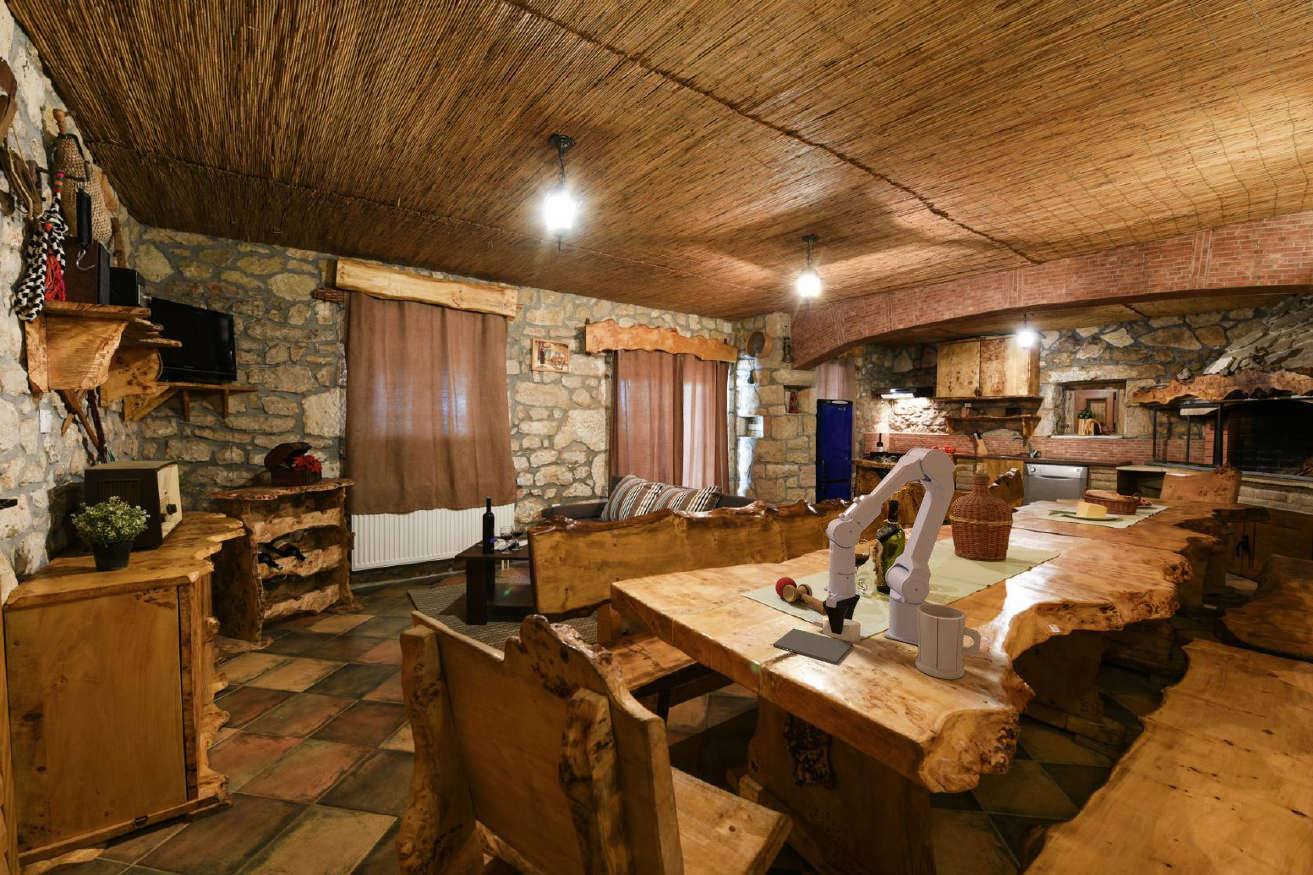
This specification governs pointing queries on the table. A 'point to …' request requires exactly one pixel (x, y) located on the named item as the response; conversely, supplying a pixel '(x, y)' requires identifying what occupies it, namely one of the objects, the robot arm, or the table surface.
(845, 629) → the block
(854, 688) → the table surface
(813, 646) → the mat
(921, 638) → the cup
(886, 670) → the table surface
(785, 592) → the kendama
